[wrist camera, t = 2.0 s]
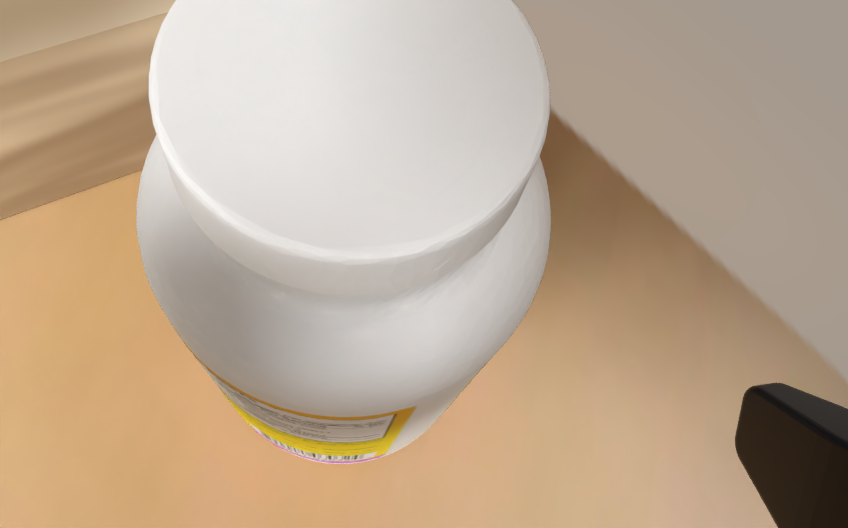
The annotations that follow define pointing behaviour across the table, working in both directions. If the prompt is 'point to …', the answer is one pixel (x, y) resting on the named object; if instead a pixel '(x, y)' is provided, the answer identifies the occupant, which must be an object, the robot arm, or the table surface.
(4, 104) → the birch backstop wall
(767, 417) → the robot arm
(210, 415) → the table surface
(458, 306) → the supplement bottle
